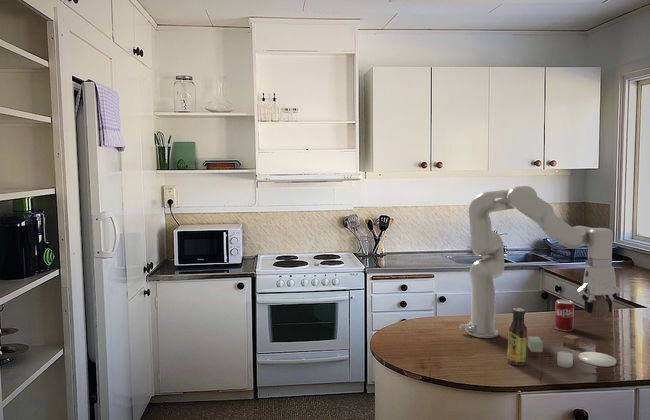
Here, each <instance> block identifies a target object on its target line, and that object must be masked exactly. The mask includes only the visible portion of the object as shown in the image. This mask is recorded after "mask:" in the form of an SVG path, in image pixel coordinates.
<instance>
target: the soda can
mask: <svg viewBox="0 0 650 420" xmlns="http://www.w3.org/2000/svg"><path fill="white" fill-rule="evenodd" d="M554 308H555V309H554V310H555V311H554V328H555V329H556V330H558V331H563V332H571V331H573V330H574V321H575V319H574V315H575V303H574V302H573V301H572V300H568V299H557V300H556V301H555V307H554Z"/></svg>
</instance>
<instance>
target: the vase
mask: <svg viewBox="0 0 650 420" xmlns="http://www.w3.org/2000/svg"><path fill="white" fill-rule="evenodd" d="M591 302H592V313H588V315H589V316H590V317H591V318H593V319H595V320H597V319H598V320H604V319H605V318H607V317H608V315H609V313H610V312H609V304H608V302H607V300H606V297H605V295H601V296H593V298H592V300H591Z"/></svg>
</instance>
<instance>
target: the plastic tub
mask: <svg viewBox="0 0 650 420" xmlns="http://www.w3.org/2000/svg"><path fill="white" fill-rule="evenodd" d="M556 354H557V355H556V356H557V358H556V360H557V361H556V364H557V366H559V367H561V368H562V367H563V368H565V369H566V368H567V369H568V368H572V367H573V366H574V363H573V362H574V361H573V360H574V355H573V353H572V352H568V351H563V350H562V351H557V353H556Z"/></svg>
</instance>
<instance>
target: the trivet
mask: <svg viewBox="0 0 650 420" xmlns="http://www.w3.org/2000/svg"><path fill="white" fill-rule="evenodd" d="M578 359H579V360H580V361H581V362H583V363H584V364H585V363H586V364H588V365H592V366H595V367H602V368H603V367H605V368H607V367H608V368H609V367H613V366H616V365H617V359H616V358H614V357H613V356H611V355H609V354H607V353H602V352H596V351H584V352H581V353H579V354H578Z"/></svg>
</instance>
